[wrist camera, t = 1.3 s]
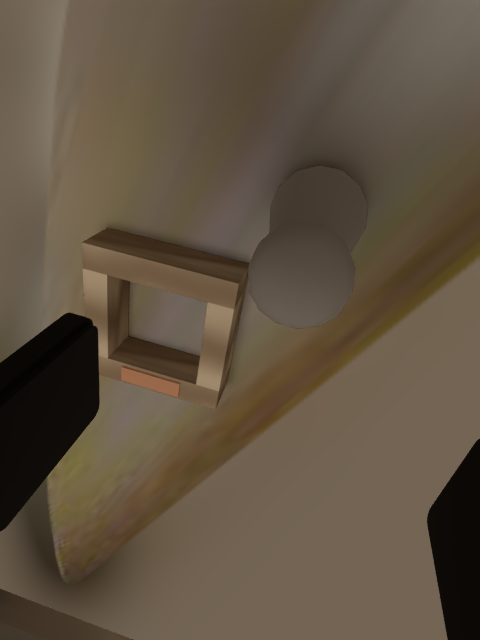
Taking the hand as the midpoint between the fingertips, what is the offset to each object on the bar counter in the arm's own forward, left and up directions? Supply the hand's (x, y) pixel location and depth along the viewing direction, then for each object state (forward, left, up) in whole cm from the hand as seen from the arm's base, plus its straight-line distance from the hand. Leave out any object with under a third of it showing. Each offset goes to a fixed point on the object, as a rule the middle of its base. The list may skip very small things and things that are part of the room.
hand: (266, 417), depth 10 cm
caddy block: (+11, -10, -20) cm, 24 cm away
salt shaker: (0, 0, -20) cm, 20 cm away
